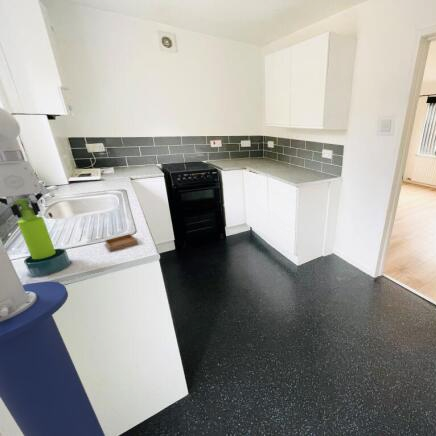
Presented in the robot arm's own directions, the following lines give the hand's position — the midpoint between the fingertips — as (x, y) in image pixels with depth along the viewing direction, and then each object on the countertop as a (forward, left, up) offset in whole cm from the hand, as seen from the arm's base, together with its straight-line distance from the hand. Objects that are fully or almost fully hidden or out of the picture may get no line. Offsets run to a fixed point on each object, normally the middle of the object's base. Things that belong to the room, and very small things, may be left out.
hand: (28, 215), depth 79 cm
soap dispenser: (0, 0, -15) cm, 15 cm away
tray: (+4, -22, -20) cm, 30 cm away
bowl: (0, 0, -20) cm, 20 cm away
